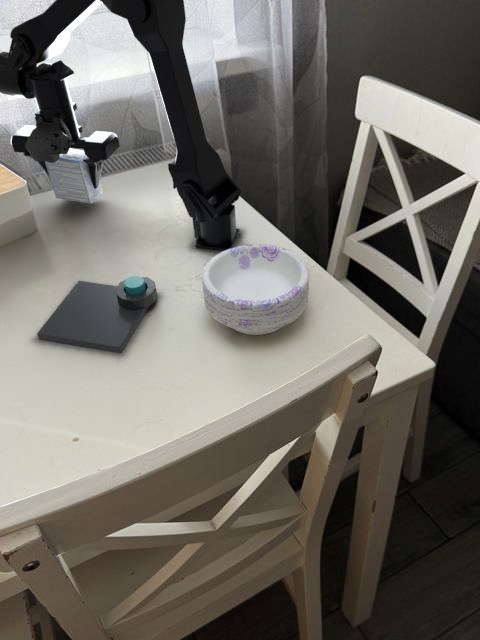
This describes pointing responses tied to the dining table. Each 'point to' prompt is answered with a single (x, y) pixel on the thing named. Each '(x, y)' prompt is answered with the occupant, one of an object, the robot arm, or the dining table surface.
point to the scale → (98, 316)
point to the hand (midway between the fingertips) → (76, 185)
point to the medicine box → (72, 178)
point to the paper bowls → (256, 288)
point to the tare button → (135, 285)
